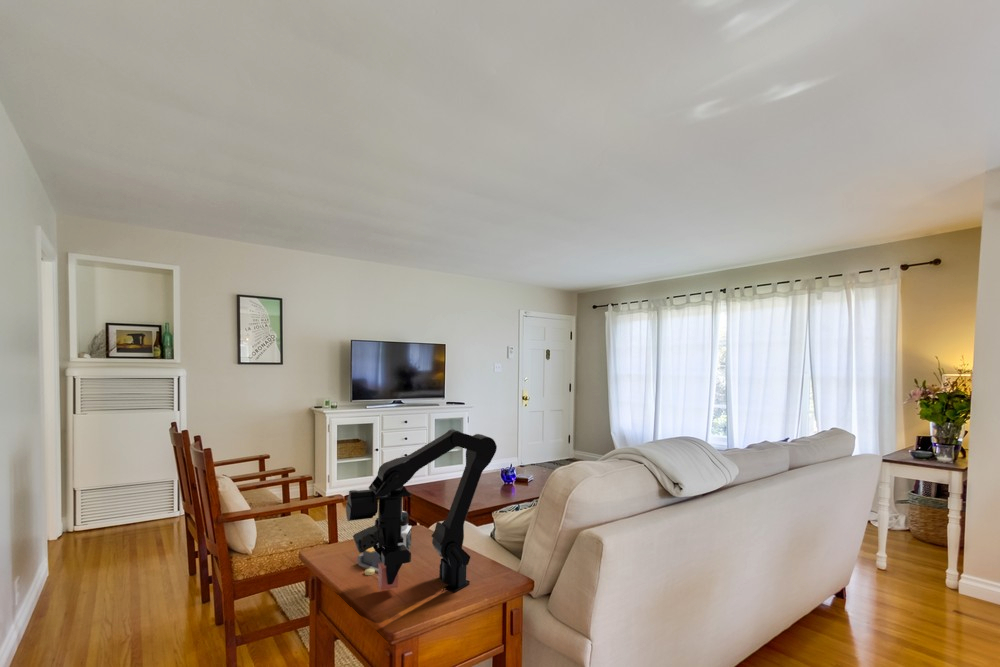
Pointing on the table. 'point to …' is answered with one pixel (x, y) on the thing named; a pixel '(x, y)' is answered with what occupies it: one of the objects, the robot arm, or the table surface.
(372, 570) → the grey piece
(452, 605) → the table surface
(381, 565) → the pink block
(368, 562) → the dark grey cube
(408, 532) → the medicine bottle
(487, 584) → the table surface
